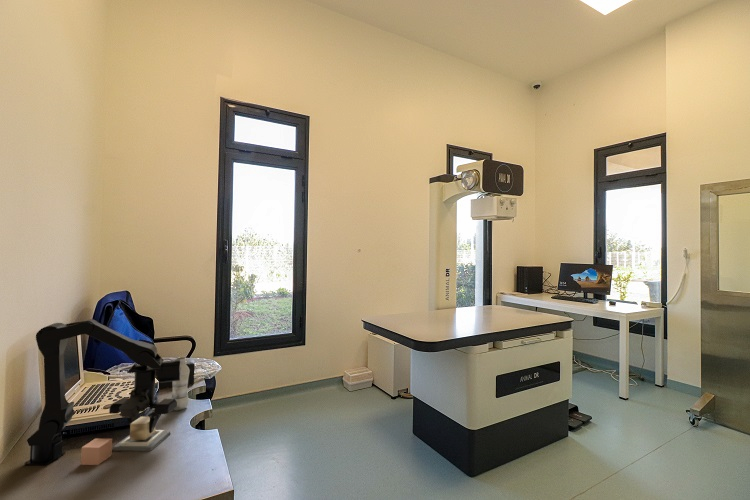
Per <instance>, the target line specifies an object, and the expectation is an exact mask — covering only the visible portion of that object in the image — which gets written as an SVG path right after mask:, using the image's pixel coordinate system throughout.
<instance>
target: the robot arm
mask: <svg viewBox="0 0 750 500" xmlns="http://www.w3.org/2000/svg"><path fill="white" fill-rule="evenodd" d="M82 335H87V336H89V337H91V338H93V339H95V340H97V341H99V342H101V343H103V344H105V345H107V346H109V347H112V348H114V349H116V350H118V351H120V352H121V353H123V354H124V355H125V356H126V357H127V358H128V359H129V360H131V361H132V362H133V364H132V366H131V367H129V369H127V374H132V373H134V380H133V381H134V382H133V383H134V384H133V385H134V387H133V389H132V390H131V391H130V395H129V398H128V397H124V398H120V399H118V400H115V402H112V403H111V404H110V406H109V407H108V408H109V409H108V411H109V412H108V413H109V414H114V415H115V414H118V415H119V416H120V417H121V418H125V419H126V420H127V422H128V424H129V425H130V424H131V423H132V422H134V421H135V420H137V419H138V418H140V412H145V411H146V410H151V412H150V413H149V414H147V417H149V418H150V425H149V432H150V433H152V432H153V430H154V428H155V426H157V423H158V422H159V419H160V417H161V415H166V414H167V415H168V414H169V413H170V412H172V411H174V410H173V409H174V408H176V407H177V401H176V400H175V399H171V398H164V399H163V400H161V401H159V402H156V401H157V400H158V397H157V396H155V394H156V390H155V388H157V384H155V373H156V370H157V380H159V381H161V383H162V382H171V381H179V380H180V379H181V363H180V360H176V359H175V360H169V361H168V360H166V361H164V358H163V357H161V355H160V354H159V353H158V348H157V347H156V345H155V344H152V343H149V342H145V341H142V340H136V339H132V338H130V337H128V336H127V335H124V334H122V333H120V332H119V331H116V330H114V329H112V328H110V327H108V326H106V325H104V324H102V323H100V322H98V321H97V320H95V319H94V318H93V319H92V318H89V319H86V320H82V321H75V322H74V321H73V322H71V323H63V322H54V323H52V324H49V325H47V326H44V327H42V328H40V329H39V330H38V331H37V332H36V334H35V341H36V345H37V348H38V350H39V351H40V353H41V355H42V356H43V378H44V379H43V381H44V406H43V410H42V411H41V416H40V418H39V423H38V429H36V430H35V432H34V433H32V434H31V435H30V436H29V437H28V438H27V439H26V442H27V443H28V444H27V445H28V446H29V447H30V450H29V452H30V453H29V460H27V461H25V462H24V466H47V465H49V464H50V463H52V462H53V461H56V459H58V458H60V457H61V456H63V455H64V454H66V451H65V450H63V440H62V439H63V438H62V437H63V435H62V434H60V432H62V431H63V430H64V428H65V427H66V426H67V425H68V424H69V423H70V421H71V420H72V418H73V416H74V415H75V414H76V412H75V411H74V406H75V401H70V402H68V400H67V398H66V385H65V384H66V380H65V378H66V377H65V350H66V347H67V344H68V342H69V339H70V338H73V337H78V336H82ZM155 429H156V428H155Z"/></svg>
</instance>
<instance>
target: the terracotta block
mask: <svg viewBox="0 0 750 500" xmlns="http://www.w3.org/2000/svg"><path fill="white" fill-rule="evenodd" d="M112 445H113V438H96V437H95V438H94V439H93V440H91V441H90V442H88V443H86V444H85V445H83V446H82V447H81V453H80V454H81V455H80V456H81V457H80V465H84V466H85V465H87V466H89V465H90V466H99V465H100V464H101V463H103V462H104V461H106V460H107V459H108V458H110V457H111V456H112V451H113V446H112Z"/></svg>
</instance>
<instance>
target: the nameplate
mask: <svg viewBox="0 0 750 500" xmlns="http://www.w3.org/2000/svg"><path fill="white" fill-rule="evenodd" d="M186 365H187V366H188V367H189V370H190V372H189V378H188V384H187V385H188V386H192V385H194V383H195V366H196V365H195V363H194V362H189V363H188V362H186ZM155 378H156V379H157V370H156V373H155ZM158 381H159V380H158ZM159 389H160V390H166V389H173V382H172V381H171V382H162V383H161V381H159Z"/></svg>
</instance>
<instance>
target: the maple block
mask: <svg viewBox="0 0 750 500" xmlns="http://www.w3.org/2000/svg"><path fill="white" fill-rule="evenodd" d="M149 425H150V418H149V416H139V418H138V419H137V420H135V421H134V422H132V423H131V424H129V427H130V428H129V435H130V440H146V439H147V438H148V437H150V436H151V435H152V434H153V433H155V430H156V429H157V428H156V426H157V425H156V426H155V428H154V430H153V432H152V433H150V432H149Z"/></svg>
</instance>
